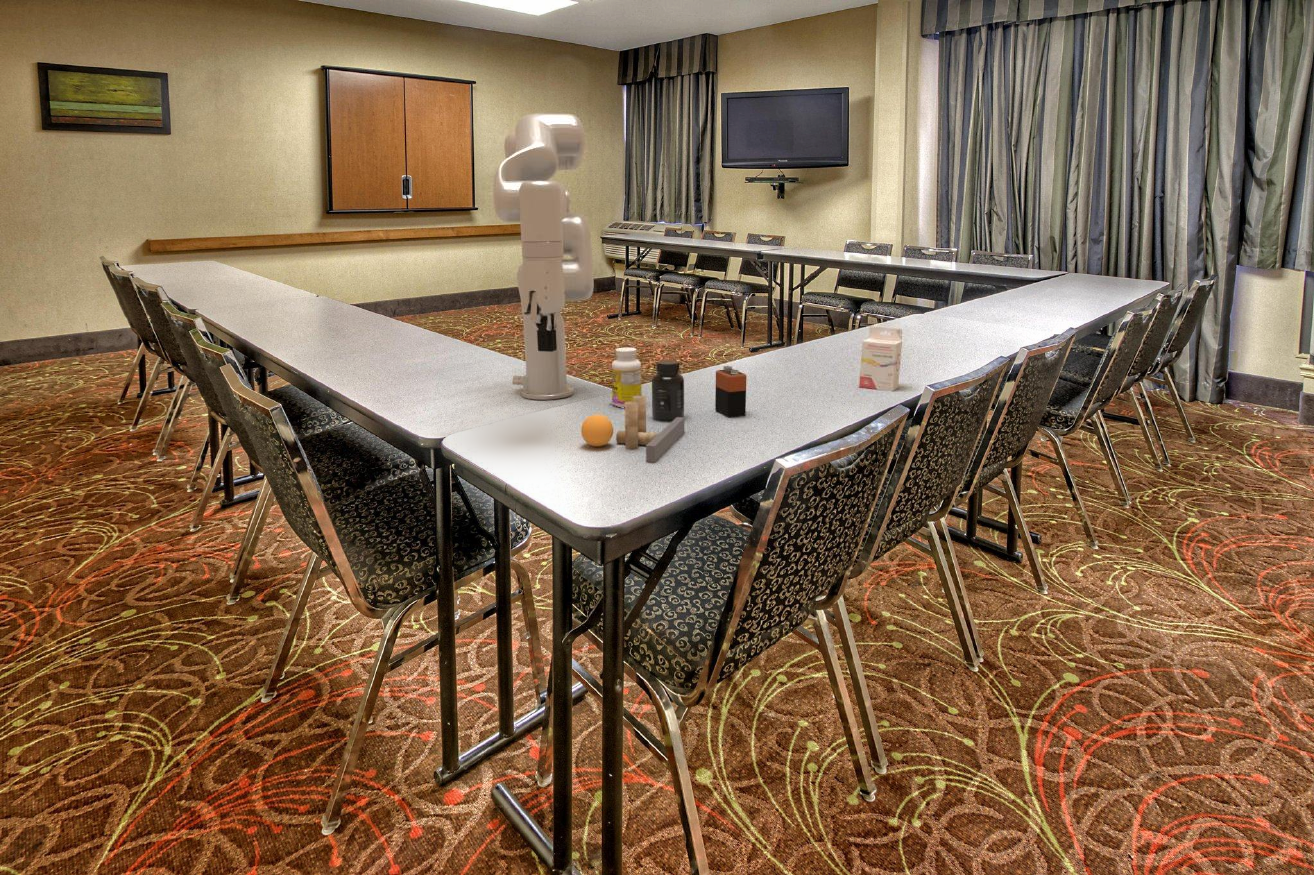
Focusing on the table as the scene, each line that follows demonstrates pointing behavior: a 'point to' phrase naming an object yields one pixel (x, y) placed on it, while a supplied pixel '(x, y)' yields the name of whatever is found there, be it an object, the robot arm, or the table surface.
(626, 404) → the pin
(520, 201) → the robot arm
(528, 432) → the table surface
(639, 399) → the pin
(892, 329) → the ink cartridge box
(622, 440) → the wooden block
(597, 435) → the ball
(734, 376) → the battery
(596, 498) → the table surface
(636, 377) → the supplement bottle
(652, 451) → the back wall
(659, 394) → the supplement bottle
